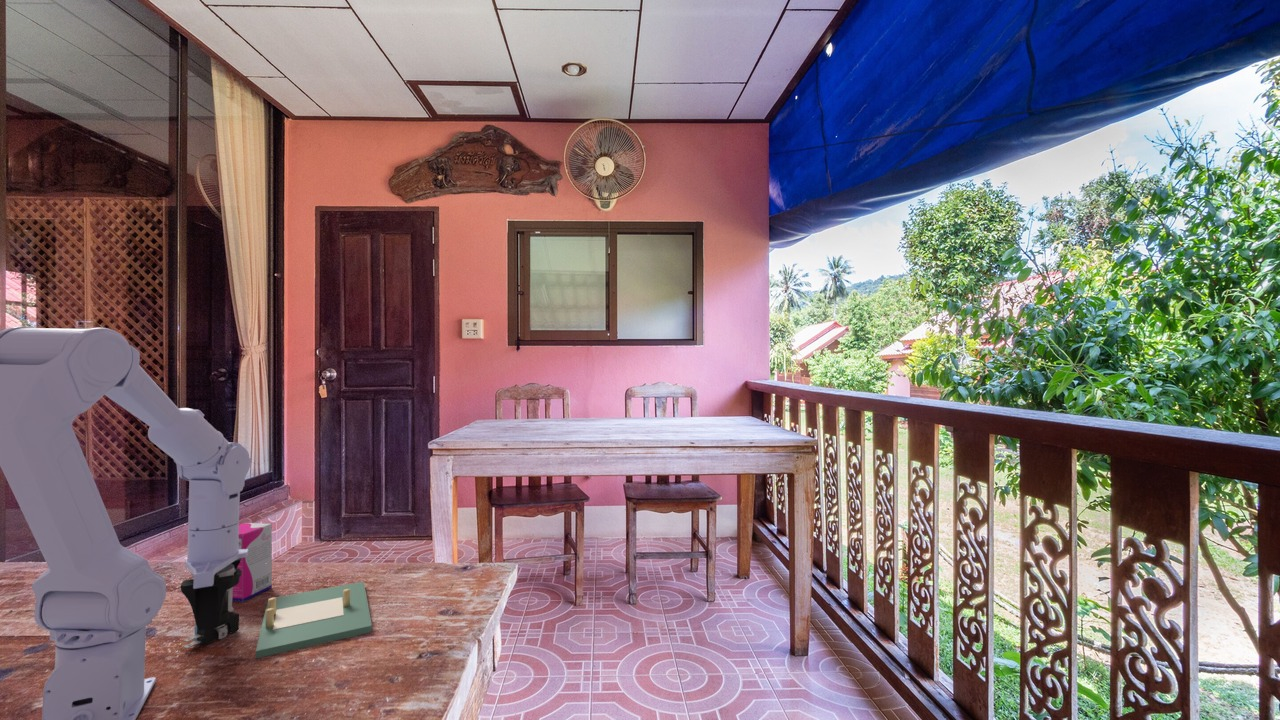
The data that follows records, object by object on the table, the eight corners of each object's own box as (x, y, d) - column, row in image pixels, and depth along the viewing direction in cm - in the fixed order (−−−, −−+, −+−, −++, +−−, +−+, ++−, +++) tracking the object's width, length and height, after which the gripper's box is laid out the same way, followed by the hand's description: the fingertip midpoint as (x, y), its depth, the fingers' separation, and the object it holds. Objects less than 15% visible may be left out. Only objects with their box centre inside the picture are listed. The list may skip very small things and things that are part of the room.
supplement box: (243, 585, 93) (245, 521, 93) (272, 588, 92) (274, 523, 92) (212, 599, 87) (214, 531, 87) (242, 602, 86) (244, 533, 86)
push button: (197, 656, 71) (199, 583, 70) (172, 646, 72) (174, 576, 72) (248, 631, 77) (250, 565, 77) (223, 623, 79) (225, 558, 78)
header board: (371, 632, 77) (372, 608, 77) (255, 658, 70) (256, 632, 70) (363, 587, 93) (364, 567, 93) (268, 604, 85) (268, 583, 85)
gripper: (242, 535, 71) (239, 634, 71) (254, 508, 83) (252, 593, 83) (173, 543, 67) (171, 648, 67) (197, 514, 79) (195, 603, 79)
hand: (211, 619), depth 75 cm, fingers closed on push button, 5 cm apart
